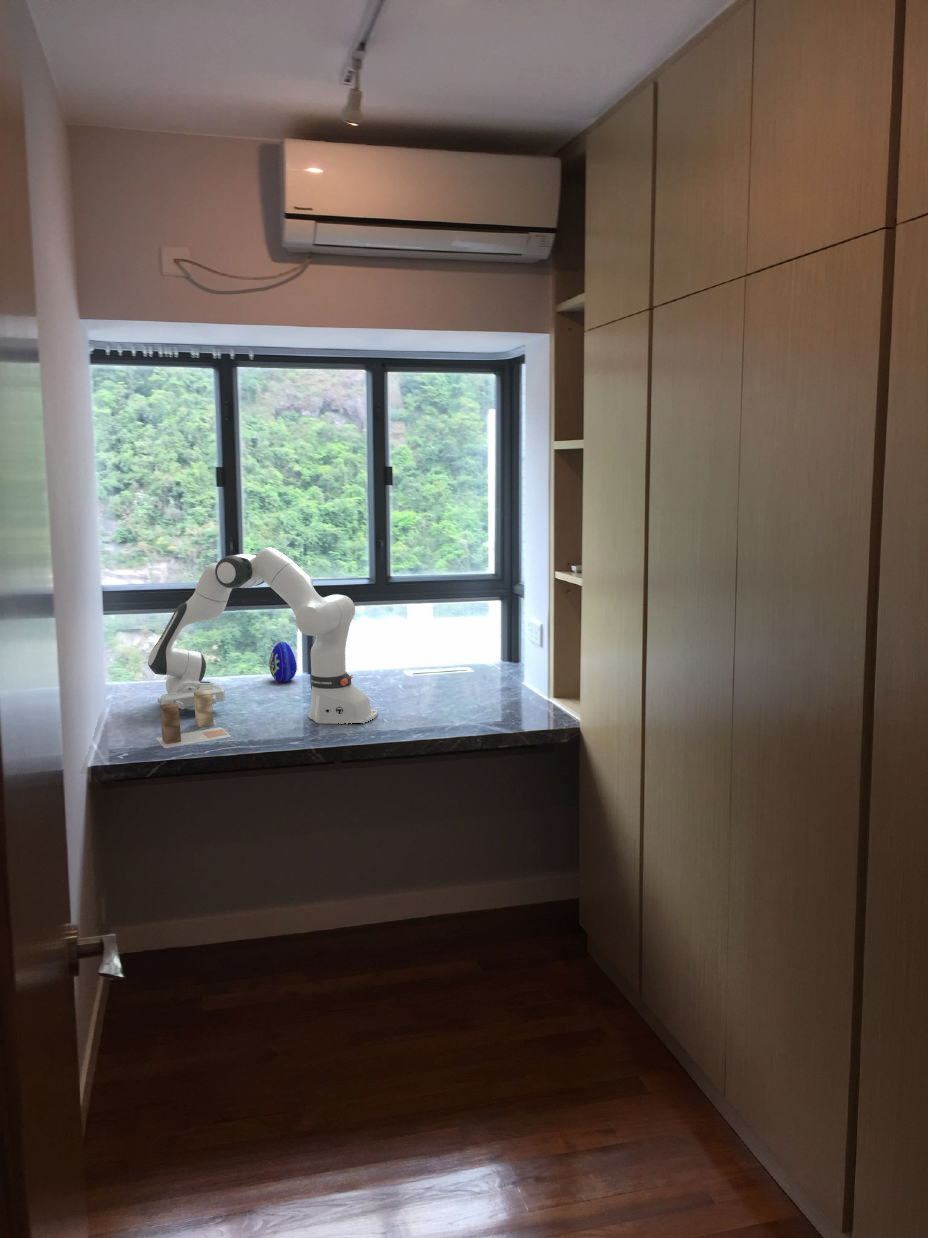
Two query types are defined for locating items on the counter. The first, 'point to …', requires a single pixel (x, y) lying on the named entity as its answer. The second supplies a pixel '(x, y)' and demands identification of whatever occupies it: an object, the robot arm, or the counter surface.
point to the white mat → (197, 737)
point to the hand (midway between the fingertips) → (199, 704)
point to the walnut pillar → (170, 723)
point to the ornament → (282, 663)
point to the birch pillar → (203, 708)
